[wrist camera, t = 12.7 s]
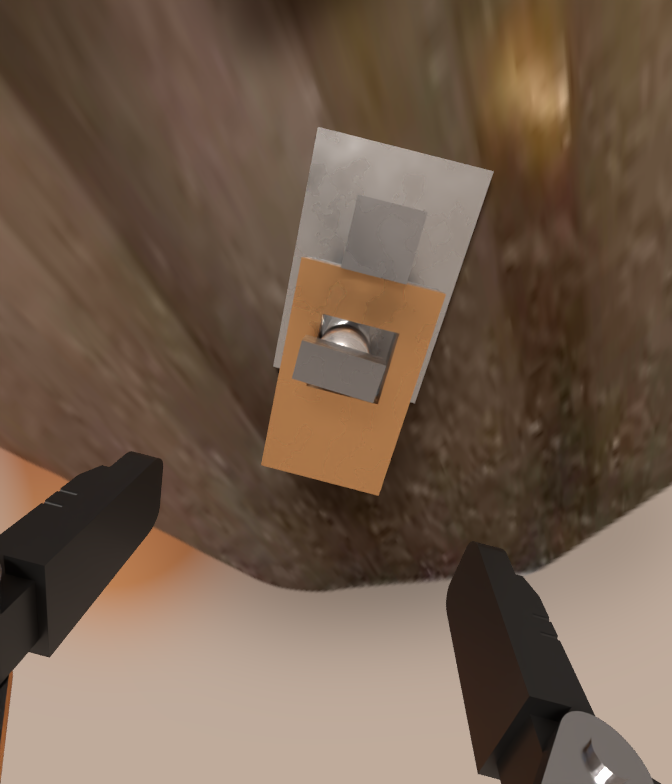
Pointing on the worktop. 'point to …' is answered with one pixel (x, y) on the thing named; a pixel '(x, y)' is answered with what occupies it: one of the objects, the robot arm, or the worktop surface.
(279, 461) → the latch clamp bracket
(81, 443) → the worktop surface
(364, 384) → the pin
